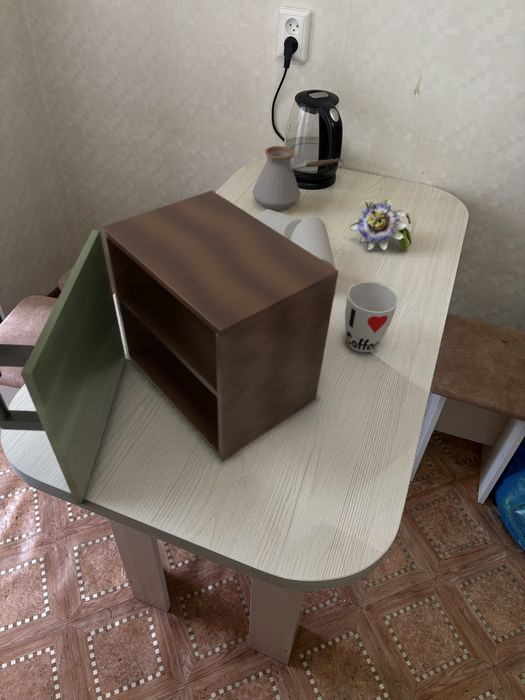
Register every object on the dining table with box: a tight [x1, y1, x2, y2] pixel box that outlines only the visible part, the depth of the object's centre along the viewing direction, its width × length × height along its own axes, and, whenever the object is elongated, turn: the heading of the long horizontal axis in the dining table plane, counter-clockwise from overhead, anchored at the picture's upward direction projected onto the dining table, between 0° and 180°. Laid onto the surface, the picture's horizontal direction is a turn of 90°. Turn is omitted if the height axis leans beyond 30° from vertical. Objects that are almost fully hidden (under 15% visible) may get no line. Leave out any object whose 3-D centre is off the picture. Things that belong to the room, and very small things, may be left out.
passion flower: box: [349, 196, 412, 252], centre depth 110 cm, size 11×11×12 cm
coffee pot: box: [252, 145, 345, 213], centre depth 116 cm, size 21×12×15 cm, turn 59°
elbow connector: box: [257, 209, 337, 270], centre depth 100 cm, size 18×11×20 cm
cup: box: [344, 281, 399, 353], centre depth 85 cm, size 8×8×10 cm
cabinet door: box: [0, 229, 127, 504], centre depth 65 cm, size 8×26×24 cm, turn 179°
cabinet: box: [101, 189, 339, 462], centre depth 72 cm, size 18×26×24 cm
